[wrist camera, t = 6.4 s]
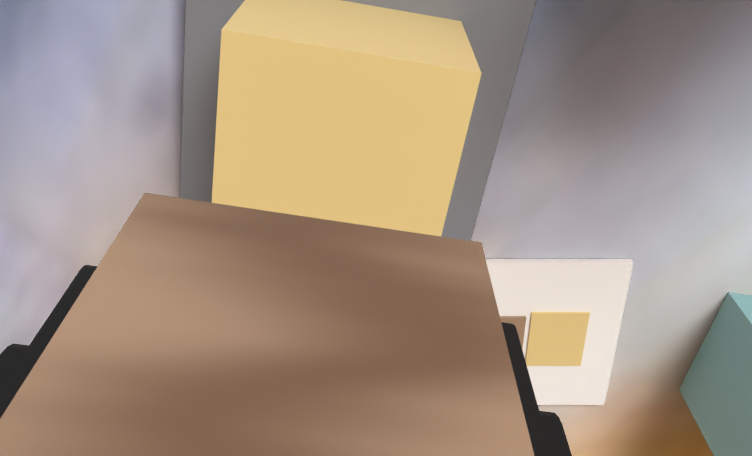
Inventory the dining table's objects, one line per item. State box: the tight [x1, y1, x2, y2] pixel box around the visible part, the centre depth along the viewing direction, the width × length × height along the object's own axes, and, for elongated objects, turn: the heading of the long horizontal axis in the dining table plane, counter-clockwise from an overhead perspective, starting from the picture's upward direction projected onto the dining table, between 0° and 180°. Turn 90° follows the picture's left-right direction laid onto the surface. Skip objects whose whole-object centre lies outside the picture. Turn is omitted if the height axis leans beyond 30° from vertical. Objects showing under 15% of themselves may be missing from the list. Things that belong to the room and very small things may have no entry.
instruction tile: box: [486, 259, 633, 405], centre depth 28 cm, size 10×7×1 cm
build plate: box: [180, 0, 536, 241], centre depth 20 cm, size 10×10×6 cm
